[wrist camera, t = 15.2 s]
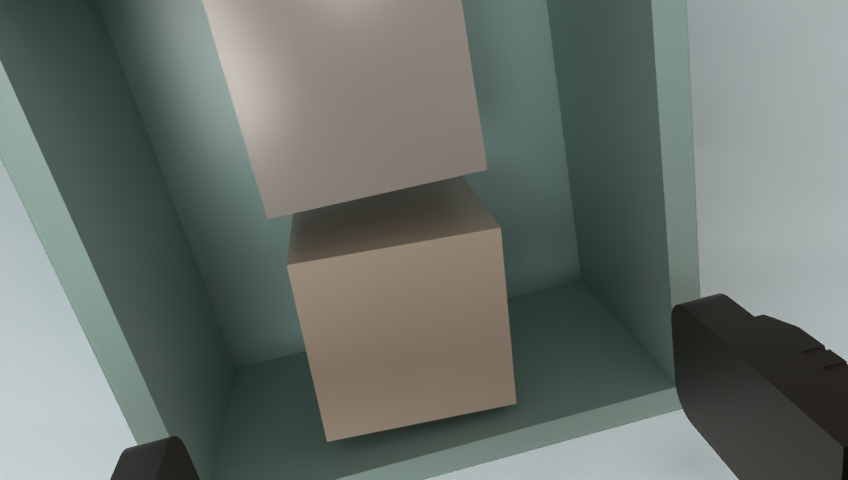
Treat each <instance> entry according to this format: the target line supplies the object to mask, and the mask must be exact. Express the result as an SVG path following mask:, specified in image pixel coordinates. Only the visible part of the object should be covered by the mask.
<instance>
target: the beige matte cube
mask: <svg viewBox="0 0 848 480" xmlns="http://www.w3.org/2000/svg"><path fill="white" fill-rule="evenodd" d="M287 269H288V274H289V278H290V282H291V287H292V291H293V295H294V300H295V304H296V308H297V313H298V317H299V322H300V326H301V330H302V335H303V339H304V343H305V348H306V352H307V357H308V361H309V365H310V370H311V374H312V378H313V383H314V387H315V392H316V396H317V400H318V405H319V409H320V413H321V418H322V422H323V427H324V431H325V435H326V440H327V442H329V441H334V440H339V439H344V438H349V437H354V436H359V435H364V434H369V433H374V432H379V431H384V430H389V429H394V428H399V427H404V426H409V425H414V424H418V423H423V422H428V421H433V420H438V419H443V418H448V417H453V416H458V415H463V414H468V413H473V412H478V411H483V410H488V409H493V408H498V407H503V406H508V405H513V404H516V393H515V381H514V370H513V359H512V348H511V336H510V325H509V314H508V303H507V291H506V280H505V269H504V258H503V247H502V235H501V227H500V226H499V225H498V223H497V222H496V221H495V219H494V218H493V216H492V215H491V214H490V212H489V211H488V210H487V208H486V207H485V206H484V204H483V203H482V202H481V200H480V199H479V198H478V196H477V195H476V194H475V192H474V191H473V190H472V188H471V187H470V186H469V184H468V183H467V182H466V180H465V179H464V178H463V176H458V177H453V178H449V179H444V180H440V181H435V182H431V183H426V184H422V185H418V186H413V187H409V188H404V189H400V190H395V191H391V192H387V193H382V194H378V195H373V196H369V197H364V198H360V199H355V200H351V201H347V202H342V203H338V204H333V205H329V206H324V207H320V208H315V209H311V210H307V211H302V212H298V213H293V217H292V225H291V233H290V241H289V250H288V258H287Z"/></svg>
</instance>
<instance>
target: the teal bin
mask: <svg viewBox="0 0 848 480" xmlns="http://www.w3.org/2000/svg"><path fill="white" fill-rule="evenodd" d="M461 1H462V7H463V14H464V20H465V27H466V33H467V40H468V46H469V53H470V59H471V66H472V72H473V79H474V85H475V92H476V98H477V105H478V111H479V118H480V124H481V131H482V137H483V144H484V150H485V157H486V163H487V170H484V171H480V172H475V173H471V174H466V175H462V176H463V178H464V179H465V180H466V182H467V183H468V184H469V186H470V187H471V188H472V190H473V191H474V192H475V194H476V195H477V196H478V198H479V199H480V200H481V202H482V203H483V204H484V206H485V207H486V208H487V210H488V211H489V212H490V214H491V215H492V216H493V218H494V219H495V221H496V222H497V223H498V225H499V226H500V227H501V235H502V247H503V258H504V269H505V280H506V291H507V303H508V314H509V325H510V336H511V348H512V359H513V370H514V381H515V393H516V404H513V405H508V406H503V407H498V408H493V409H488V410H483V411H478V412H473V413H468V414H463V415H458V416H453V417H448V418H443V419H438V420H433V421H428V422H423V423H418V424H414V425H409V426H404V427H399V428H394V429H389V430H384V431H379V432H374V433H369V434H364V435H359V436H354V437H349V438H344V439H339V440H334V441H329V442H327V440H326V435H325V431H324V427H323V422H322V418H321V413H320V409H319V405H318V400H317V396H316V392H315V387H314V383H313V378H312V374H311V370H310V365H309V361H308V357H307V352H306V348H305V343H304V339H303V335H302V330H301V326H300V322H299V317H298V313H297V308H296V304H295V300H294V295H293V291H292V287H291V282H290V278H289V274H288V269H287V258H288V250H289V241H290V233H291V225H292V217H293V214H289V215H284V216H280V217H276V218H271V219H267V215H266V212H265V209H264V205H263V202H262V199H261V195H260V192H259V188H258V185H257V182H256V178H255V175H254V172H253V168H252V165H251V162H250V158H249V155H248V152H247V148H246V145H245V142H244V138H243V135H242V132H241V128H240V125H239V122H238V118H237V115H236V112H235V108H234V105H233V102H232V98H231V95H230V92H229V88H228V85H227V82H226V78H225V75H224V72H223V68H222V65H221V62H220V58H219V55H218V51H217V48H216V45H215V41H214V38H213V35H212V31H211V28H210V25H209V21H208V18H207V15H206V11H205V8H204V5H203V1H202V0H0V157H1V159H2V161H3V163H4V165H5V167H6V169H7V171H8V173H9V176H10V178H11V180H12V182H13V184H14V186H15V188H16V190H17V192H18V194H19V197H20V199H21V201H22V203H23V205H24V207H25V209H26V211H27V213H28V215H29V218H30V220H31V222H32V224H33V226H34V228H35V230H36V232H37V234H38V236H39V239H40V241H41V243H42V245H43V247H44V249H45V251H46V253H47V255H48V257H49V260H50V262H51V264H52V266H53V268H54V270H55V272H56V274H57V276H58V278H59V281H60V283H61V285H62V287H63V289H64V291H65V293H66V295H67V297H68V299H69V302H70V304H71V306H72V308H73V310H74V312H75V314H76V316H77V318H78V320H79V323H80V325H81V327H82V329H83V331H84V333H85V335H86V337H87V339H88V341H89V344H90V346H91V348H92V350H93V352H94V354H95V356H96V358H97V360H98V362H99V365H100V367H101V369H102V371H103V373H104V375H105V377H106V379H107V381H108V383H109V386H110V388H111V390H112V392H113V394H114V396H115V398H116V400H117V402H118V404H119V407H120V409H121V411H122V413H123V415H124V417H125V419H126V421H127V423H128V425H129V428H130V430H131V432H132V434H133V436H134V438H135V440H136V442H137V444H138V445H142V444H145V443H149V442H153V441H157V440H161V439H164V438H168V437H172V436H177V437H179V438H180V439H181V440H182V441H183V443H184V445H185V447H186V449H187V451H188V453H189V456H190V458H191V460H192V462H193V465H194V467H195V469H196V472H197V474H198V476H199V478H200V480H424V479H427V478H431V477H435V476H438V475H442V474H446V473H449V472H453V471H457V470H460V469H464V468H468V467H471V466H475V465H478V464H482V463H486V462H489V461H493V460H497V459H500V458H504V457H508V456H511V455H515V454H519V453H522V452H526V451H530V450H533V449H537V448H541V447H544V446H548V445H552V444H555V443H559V442H562V441H566V440H570V439H573V438H577V437H581V436H584V435H588V434H592V433H595V432H599V431H603V430H606V429H610V428H614V427H617V426H621V425H625V424H628V423H632V422H636V421H639V420H643V419H646V418H650V417H654V416H657V415H661V414H665V413H668V412H672V411H676V410H679V409H683V408H682V406H681V403H680V401H679V398H678V394H677V390H676V384H675V371H674V356H673V341H672V326H671V312H672V309H673V307H674V306H675V305H678V304H682V303H685V302H689V301H693V300H697V299H700V283H699V261H698V240H697V219H696V198H695V176H694V155H693V134H692V112H691V91H690V70H689V48H688V27H687V6H686V0H461Z"/></svg>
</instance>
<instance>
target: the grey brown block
mask: <svg viewBox="0 0 848 480" xmlns="http://www.w3.org/2000/svg"><path fill="white" fill-rule="evenodd" d="M202 1H203V5H204V8H205V11H206V15H207V18H208V21H209V25H210V28H211V31H212V35H213V38H214V41H215V45H216V48H217V51H218V55H219V58H220V62H221V65H222V68H223V72H224V75H225V78H226V82H227V85H228V88H229V92H230V95H231V98H232V102H233V105H234V108H235V112H236V115H237V118H238V122H239V125H240V128H241V132H242V135H243V138H244V142H245V145H246V148H247V152H248V155H249V158H250V162H251V165H252V168H253V172H254V175H255V178H256V182H257V185H258V188H259V192H260V195H261V199H262V202H263V205H264V209H265V212H266V215H267V219H271V218H276V217H280V216H284V215H289V214H293V213H298V212H302V211H307V210H311V209H315V208H320V207H324V206H329V205H333V204H338V203H342V202H347V201H351V200H355V199H360V198H364V197H369V196H373V195H378V194H382V193H387V192H391V191H395V190H400V189H404V188H409V187H413V186H418V185H422V184H426V183H431V182H435V181H440V180H444V179H449V178H453V177H458V176H462V175H466V174H471V173H475V172H480V171H484V170H487V163H486V157H485V150H484V144H483V137H482V131H481V124H480V118H479V111H478V105H477V98H476V92H475V85H474V79H473V72H472V66H471V59H470V53H469V46H468V40H467V33H466V27H465V20H464V14H463V7H462V1H461V0H202Z"/></svg>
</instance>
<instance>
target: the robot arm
mask: <svg viewBox="0 0 848 480" xmlns="http://www.w3.org/2000/svg"><path fill="white" fill-rule="evenodd" d="M671 326H672V341H673V356H674V371H675V384H676V390H677V394H678V398H679V401H680V403H681V406H682V408H683V410H684V412H685V414H686V416H687V418H688V419H689V421H690V422H691V423H692V425H693V426H694V427H695V428H696V429H697V430H698V432H699V433H700V434H701V435H702V436H703V438H704V439H705V440H706V441H707V442H708V443H709V445H710V446H711V447H712V448H713V449H714V451H715V452H716V453H717V454H718V455H719V456H720V458H721V459H722V460H723V461H724V462H725V463H726V465H727V466H728V467H729V468H730V469H731V471H732V472H733V473H734V474H735V475H736V476H737V478H738V479H739V480H848V365H847V363H846V361H845V360H844V359H842V358H841V357H839V356H838V355H837V354H835V353H834V352H832V351H831V350H830V349H829V350H826V349H825V347H824V345H823V344H821V343H820V342H818V341H817V340H816V339H814V338H813V337H811V336H810V335H809V334H807V333H806V332H804V331H803V330H802V329H800V328H799V327H797V326H794V325H791V324H788V323H786V322H783V321H780V320H777V319H775V318H772V317H769V316H766V315H760V316H756V317H754V316H753V315H751V314H750V313H749V312H747V311H746V310H745V309H744V308H742V307H741V306H740V305H738V304H737V303H736V302H734V301H733V300H732V299H730V298H729V297H728V296H726V295H724V294H716V295H712V296H708V297H704V298H701V299H697V300H693V301H689V302H685V303H682V304H678V305H675V306H674V307H673V309H672V312H671ZM110 480H200V478H199V476H198V474H197V472H196V469H195V467H194V465H193V462H192V460H191V458H190V456H189V453H188V451H187V449H186V447H185V445H184V443H183V441H182V440H181V439H180V438H179V437H177V436H172V437H168V438H164V439H161V440H157V441H153V442H149V443H145V444H142V445H138V446H134V447H130V448H127V449H125V450H124V451H123V452H122V454H121V456H120V458H119V461H118V463H117V465H116V468H115V470H114V472H113V475H112V477H111V479H110Z"/></svg>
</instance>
